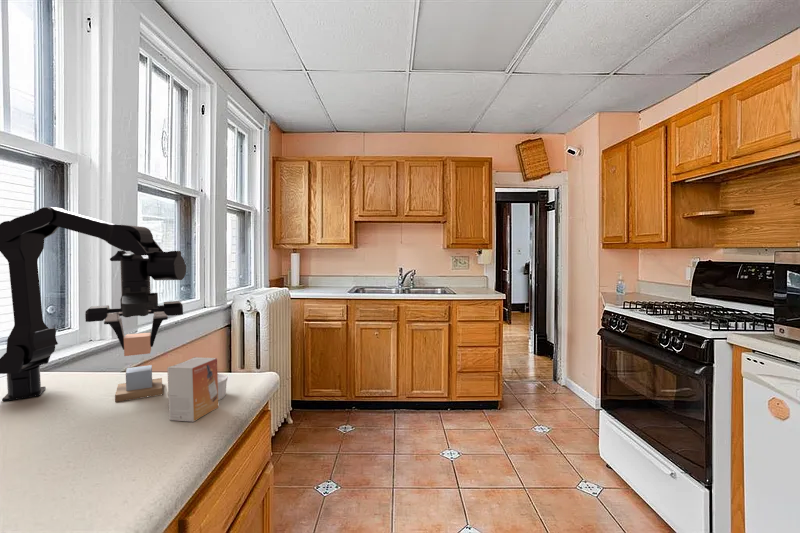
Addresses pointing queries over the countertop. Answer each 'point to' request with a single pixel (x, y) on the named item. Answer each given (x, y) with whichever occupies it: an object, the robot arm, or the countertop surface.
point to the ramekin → (222, 385)
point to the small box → (192, 389)
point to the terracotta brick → (137, 344)
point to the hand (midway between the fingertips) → (138, 348)
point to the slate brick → (139, 377)
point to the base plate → (138, 391)
